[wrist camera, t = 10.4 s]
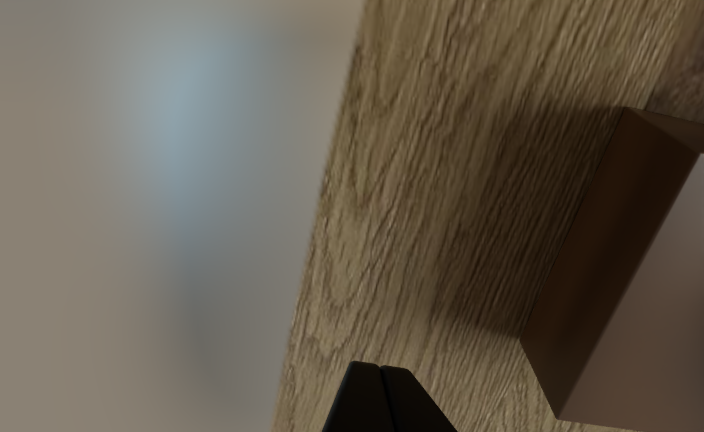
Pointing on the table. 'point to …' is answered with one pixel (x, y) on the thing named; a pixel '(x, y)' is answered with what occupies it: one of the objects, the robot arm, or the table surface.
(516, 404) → the table surface
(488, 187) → the table surface
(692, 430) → the switch block
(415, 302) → the table surface
